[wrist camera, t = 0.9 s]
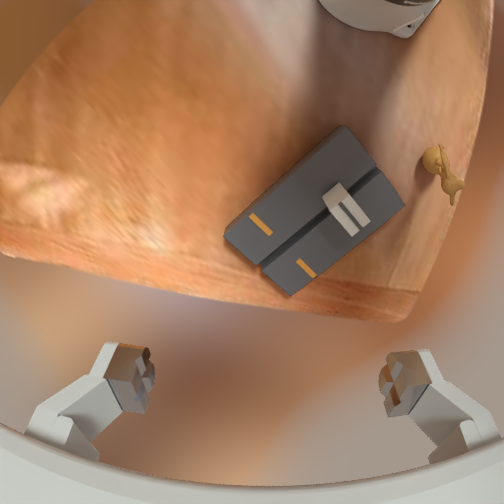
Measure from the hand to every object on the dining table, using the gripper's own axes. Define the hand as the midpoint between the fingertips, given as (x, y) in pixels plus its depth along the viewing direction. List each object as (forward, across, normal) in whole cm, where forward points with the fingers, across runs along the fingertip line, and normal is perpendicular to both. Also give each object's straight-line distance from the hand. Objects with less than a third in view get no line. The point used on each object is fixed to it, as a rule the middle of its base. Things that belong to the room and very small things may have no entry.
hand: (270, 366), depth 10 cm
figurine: (+35, -24, -2) cm, 42 cm away
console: (+35, -8, +8) cm, 36 cm away
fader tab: (+33, -10, +5) cm, 35 cm away
